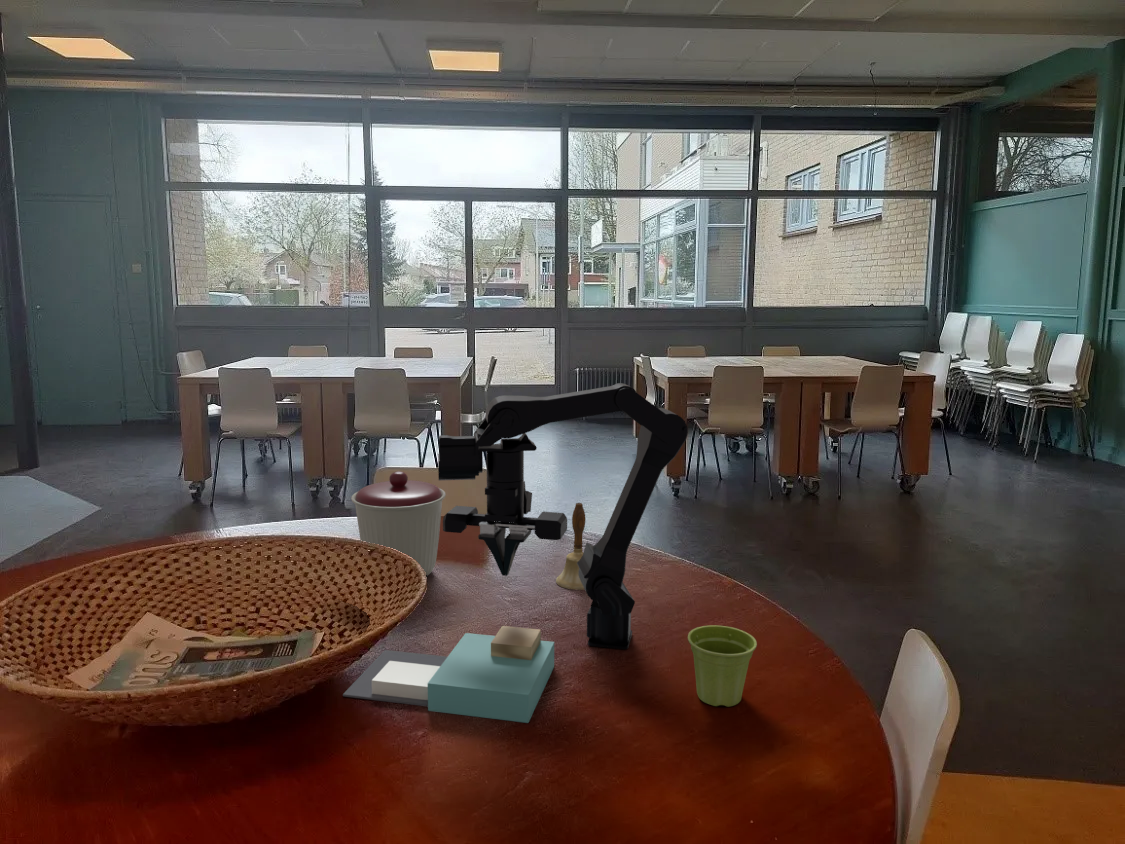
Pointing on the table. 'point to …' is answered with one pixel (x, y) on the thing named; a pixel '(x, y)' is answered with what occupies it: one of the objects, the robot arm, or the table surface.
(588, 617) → the robot arm
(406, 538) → the canister
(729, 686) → the plant pot
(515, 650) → the oak tile
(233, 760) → the table surface
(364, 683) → the mat
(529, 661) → the plate
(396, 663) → the white box
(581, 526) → the hand bell
